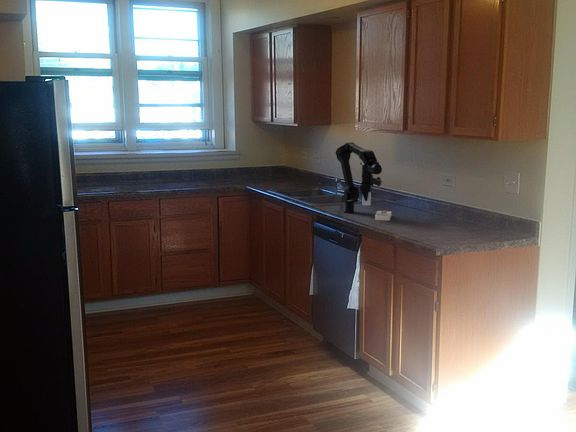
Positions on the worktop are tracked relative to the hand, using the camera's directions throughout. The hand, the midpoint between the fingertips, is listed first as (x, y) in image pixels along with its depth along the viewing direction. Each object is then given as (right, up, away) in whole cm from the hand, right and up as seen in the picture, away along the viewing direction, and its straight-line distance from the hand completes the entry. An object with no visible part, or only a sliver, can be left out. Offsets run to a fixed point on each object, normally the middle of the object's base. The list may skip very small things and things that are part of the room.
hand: (366, 200), depth 369 cm
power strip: (+9, -10, -3) cm, 14 cm away
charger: (0, -3, 0) cm, 3 cm away
